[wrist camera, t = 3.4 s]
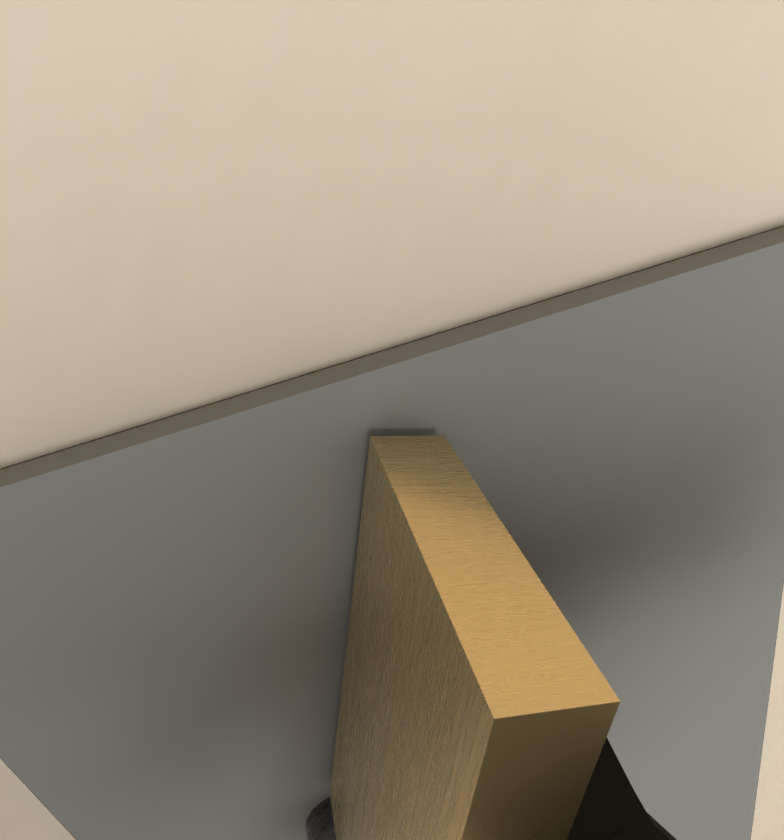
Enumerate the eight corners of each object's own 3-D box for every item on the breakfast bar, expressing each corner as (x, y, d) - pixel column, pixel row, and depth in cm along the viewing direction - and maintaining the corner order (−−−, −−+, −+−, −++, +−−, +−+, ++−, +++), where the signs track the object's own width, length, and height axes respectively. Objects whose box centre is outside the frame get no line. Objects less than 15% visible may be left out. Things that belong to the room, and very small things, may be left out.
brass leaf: (389, 848, 15) (465, 1192, 10) (304, 865, 14) (342, 1235, 9) (467, 435, 10) (681, 725, 5) (344, 435, 9) (459, 759, 5)
